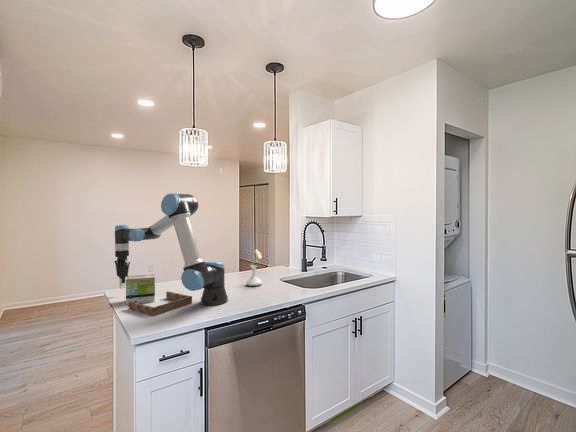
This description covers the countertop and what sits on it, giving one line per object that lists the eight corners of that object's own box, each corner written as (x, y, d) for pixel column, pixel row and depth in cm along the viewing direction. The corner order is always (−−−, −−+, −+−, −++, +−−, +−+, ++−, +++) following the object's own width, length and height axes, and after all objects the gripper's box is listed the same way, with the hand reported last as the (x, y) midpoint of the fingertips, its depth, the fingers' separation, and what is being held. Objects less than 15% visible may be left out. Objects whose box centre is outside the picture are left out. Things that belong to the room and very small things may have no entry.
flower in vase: (255, 287, 203) (254, 251, 203) (242, 285, 209) (242, 250, 209) (266, 283, 214) (266, 249, 214) (254, 282, 220) (254, 248, 220)
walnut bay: (192, 303, 170) (191, 296, 170) (153, 316, 149) (153, 308, 149) (168, 297, 181) (167, 291, 181) (128, 309, 160) (128, 301, 160)
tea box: (125, 305, 167) (125, 279, 167) (127, 300, 176) (127, 275, 176) (155, 302, 173) (154, 276, 173) (155, 297, 182) (154, 273, 182)
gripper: (134, 250, 184) (134, 288, 184) (122, 248, 191) (122, 285, 191) (121, 251, 178) (122, 290, 178) (110, 249, 184) (110, 287, 185)
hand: (122, 288), depth 185 cm, fingers closed
